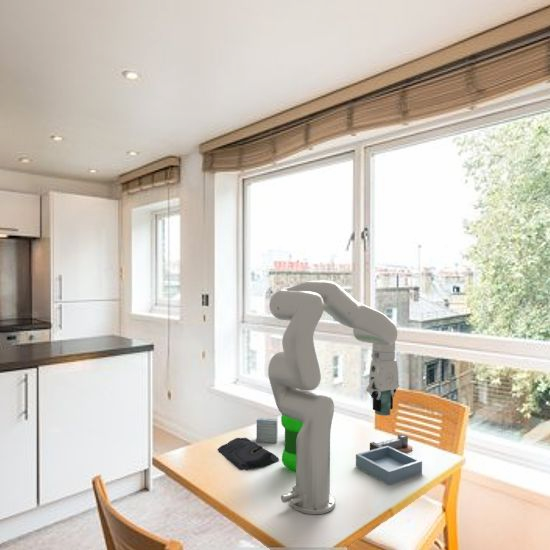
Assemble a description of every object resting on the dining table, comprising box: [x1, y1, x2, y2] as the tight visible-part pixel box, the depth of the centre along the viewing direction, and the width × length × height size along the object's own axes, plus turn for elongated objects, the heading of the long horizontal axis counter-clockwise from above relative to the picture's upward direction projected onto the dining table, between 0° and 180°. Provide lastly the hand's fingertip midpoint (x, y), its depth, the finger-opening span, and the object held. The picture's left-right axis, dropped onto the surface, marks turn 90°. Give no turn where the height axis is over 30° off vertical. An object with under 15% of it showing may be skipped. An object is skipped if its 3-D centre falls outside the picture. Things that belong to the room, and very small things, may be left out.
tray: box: [355, 446, 423, 486], centre depth 140 cm, size 15×15×4 cm
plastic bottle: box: [280, 413, 303, 473], centre depth 141 cm, size 10×10×25 cm
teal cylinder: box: [374, 390, 391, 416], centre depth 145 cm, size 5×5×8 cm
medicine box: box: [255, 416, 279, 444], centre depth 165 cm, size 8×4×9 cm, turn 84°
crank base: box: [397, 444, 413, 453], centre depth 158 cm, size 7×7×1 cm
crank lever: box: [369, 433, 409, 451], centre depth 155 cm, size 16×5×4 cm, turn 121°
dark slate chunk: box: [217, 437, 280, 472], centre depth 151 cm, size 15×22×5 cm
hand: (382, 408), depth 144 cm, fingers closed on teal cylinder, 5 cm apart
